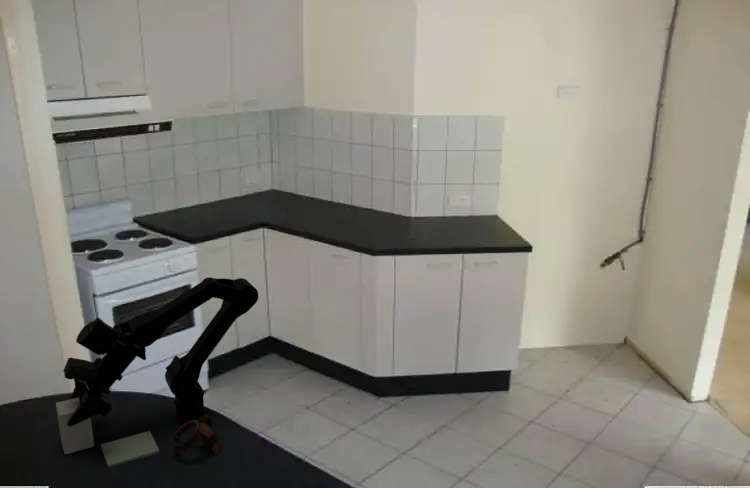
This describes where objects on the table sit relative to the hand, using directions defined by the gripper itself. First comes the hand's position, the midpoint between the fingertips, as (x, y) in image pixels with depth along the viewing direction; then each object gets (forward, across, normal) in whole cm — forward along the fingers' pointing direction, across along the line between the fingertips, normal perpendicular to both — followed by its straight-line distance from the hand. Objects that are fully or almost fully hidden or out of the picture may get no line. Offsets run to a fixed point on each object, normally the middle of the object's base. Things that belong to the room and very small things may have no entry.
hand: (67, 418), depth 144 cm
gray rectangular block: (+4, 0, +6) cm, 7 cm away
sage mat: (-3, +8, +14) cm, 16 cm away
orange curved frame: (-13, +15, +24) cm, 31 cm away
